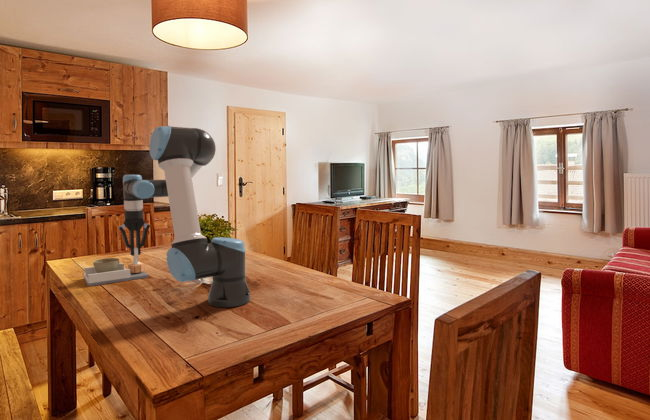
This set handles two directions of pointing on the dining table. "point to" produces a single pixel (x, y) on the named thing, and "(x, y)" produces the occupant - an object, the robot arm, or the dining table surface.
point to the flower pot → (106, 265)
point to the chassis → (111, 276)
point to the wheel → (136, 267)
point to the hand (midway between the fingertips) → (136, 262)
